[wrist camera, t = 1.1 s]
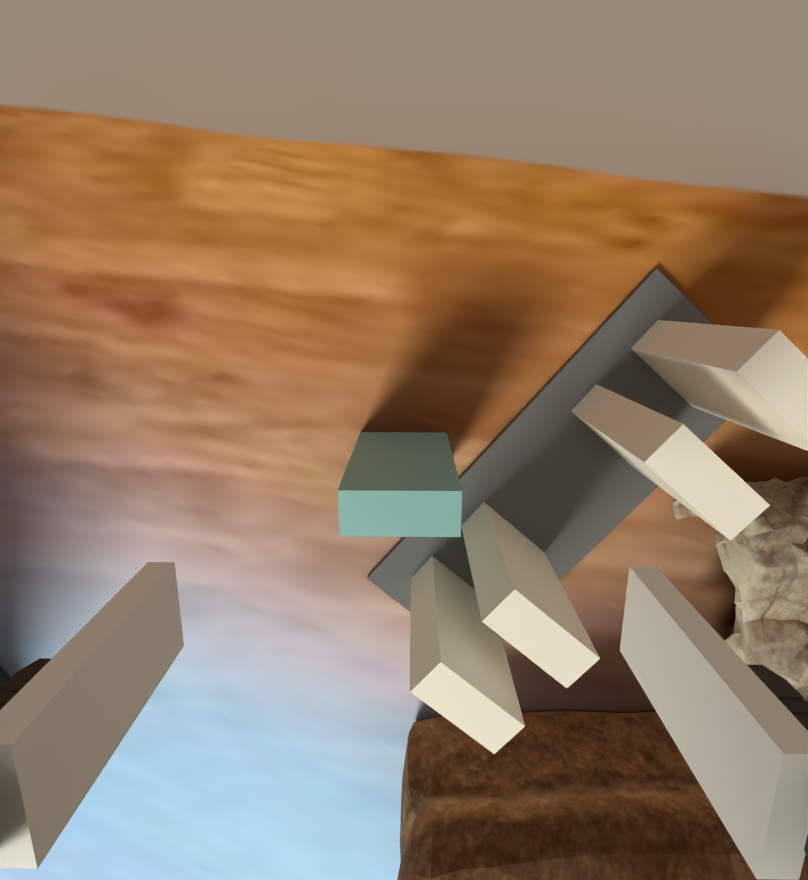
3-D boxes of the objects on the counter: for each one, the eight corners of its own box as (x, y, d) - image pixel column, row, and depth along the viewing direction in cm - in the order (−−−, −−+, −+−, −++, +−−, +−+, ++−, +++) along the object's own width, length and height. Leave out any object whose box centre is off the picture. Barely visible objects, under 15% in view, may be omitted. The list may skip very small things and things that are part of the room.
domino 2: (521, 575, 33) (566, 688, 24) (461, 525, 32) (481, 621, 23) (544, 552, 33) (600, 658, 23) (483, 501, 32) (514, 589, 22)
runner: (474, 657, 35) (475, 661, 35) (367, 575, 34) (367, 578, 33) (764, 378, 30) (768, 379, 30) (653, 268, 29) (656, 268, 29)
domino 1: (471, 625, 34) (494, 754, 24) (410, 578, 33) (410, 691, 24) (492, 603, 34) (524, 726, 24) (432, 555, 33) (440, 662, 23)
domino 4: (632, 466, 31) (730, 540, 22) (570, 410, 31) (644, 462, 21) (658, 440, 31) (770, 505, 21) (596, 384, 30) (683, 424, 21)
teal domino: (445, 465, 32) (460, 536, 22) (361, 464, 32) (339, 536, 22) (446, 432, 31) (462, 491, 22) (360, 432, 32) (337, 490, 22)
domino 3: (692, 407, 30) (823, 456, 21) (630, 348, 30) (736, 371, 20) (719, 380, 30) (866, 418, 20) (658, 319, 29) (779, 329, 20)
